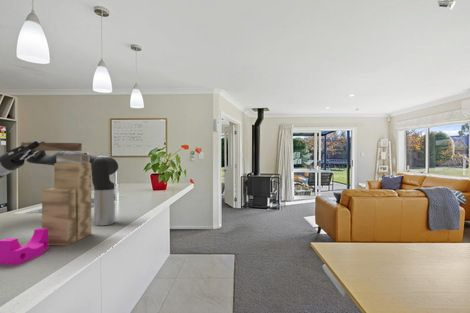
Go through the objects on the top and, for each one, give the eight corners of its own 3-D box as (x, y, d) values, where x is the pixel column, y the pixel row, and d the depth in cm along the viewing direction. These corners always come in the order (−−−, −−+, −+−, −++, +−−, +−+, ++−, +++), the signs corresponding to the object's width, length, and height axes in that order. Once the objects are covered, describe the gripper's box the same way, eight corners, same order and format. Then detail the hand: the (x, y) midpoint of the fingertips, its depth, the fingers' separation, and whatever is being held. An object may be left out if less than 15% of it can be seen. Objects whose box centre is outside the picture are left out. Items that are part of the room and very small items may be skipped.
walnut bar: (27, 150, 117) (27, 142, 117) (81, 151, 116) (81, 143, 116) (21, 150, 114) (21, 142, 114) (76, 150, 113) (76, 143, 113)
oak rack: (69, 233, 121) (69, 155, 121) (91, 233, 120) (91, 155, 120) (42, 244, 105) (41, 155, 105) (67, 245, 105) (66, 155, 104)
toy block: (17, 265, 86) (17, 241, 86) (-1, 264, 87) (-1, 240, 87) (54, 249, 101) (54, 228, 101) (39, 248, 102) (39, 228, 102)
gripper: (25, 170, 123) (57, 151, 122) (-4, 171, 109) (32, 150, 108) (17, 155, 123) (49, 136, 123) (-13, 155, 109) (23, 134, 108)
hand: (41, 143), depth 115 cm, fingers closed on walnut bar, 3 cm apart
